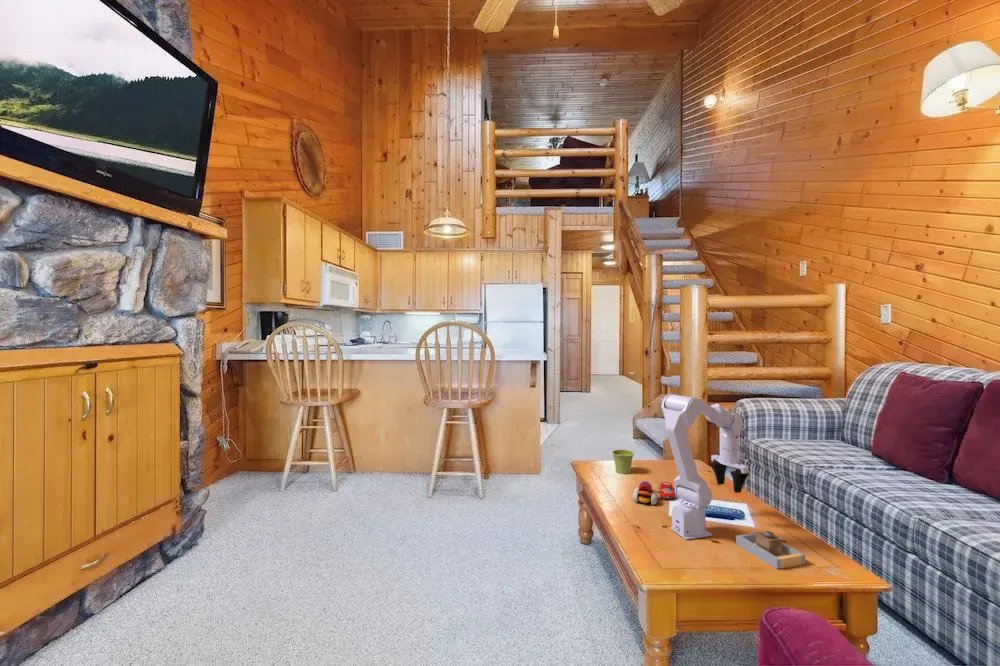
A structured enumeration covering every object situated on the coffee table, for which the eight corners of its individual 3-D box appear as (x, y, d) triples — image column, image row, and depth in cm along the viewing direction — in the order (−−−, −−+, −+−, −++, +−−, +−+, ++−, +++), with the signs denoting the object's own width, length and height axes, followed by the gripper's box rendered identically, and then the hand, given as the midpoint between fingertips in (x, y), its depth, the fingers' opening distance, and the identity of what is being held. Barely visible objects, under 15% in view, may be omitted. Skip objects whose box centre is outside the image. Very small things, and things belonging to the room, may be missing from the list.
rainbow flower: (631, 504, 164) (631, 484, 164) (634, 495, 173) (634, 476, 173) (656, 508, 161) (656, 487, 161) (658, 498, 170) (657, 479, 170)
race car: (675, 502, 167) (675, 491, 167) (660, 500, 168) (660, 490, 168) (673, 489, 179) (673, 479, 179) (658, 488, 181) (658, 478, 181)
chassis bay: (776, 569, 120) (777, 559, 120) (735, 543, 134) (735, 535, 134) (805, 564, 123) (805, 555, 123) (761, 539, 137) (761, 531, 136)
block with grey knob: (769, 557, 126) (769, 537, 126) (756, 549, 130) (756, 530, 130) (782, 554, 127) (782, 535, 127) (768, 547, 131) (768, 528, 131)
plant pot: (631, 476, 194) (631, 456, 194) (609, 473, 198) (609, 453, 198) (636, 470, 202) (636, 451, 202) (615, 467, 207) (615, 448, 206)
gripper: (756, 452, 145) (756, 494, 145) (723, 441, 159) (723, 479, 159) (738, 454, 143) (738, 497, 143) (706, 443, 157) (706, 481, 157)
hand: (729, 488), depth 151 cm, fingers open, 7 cm apart
